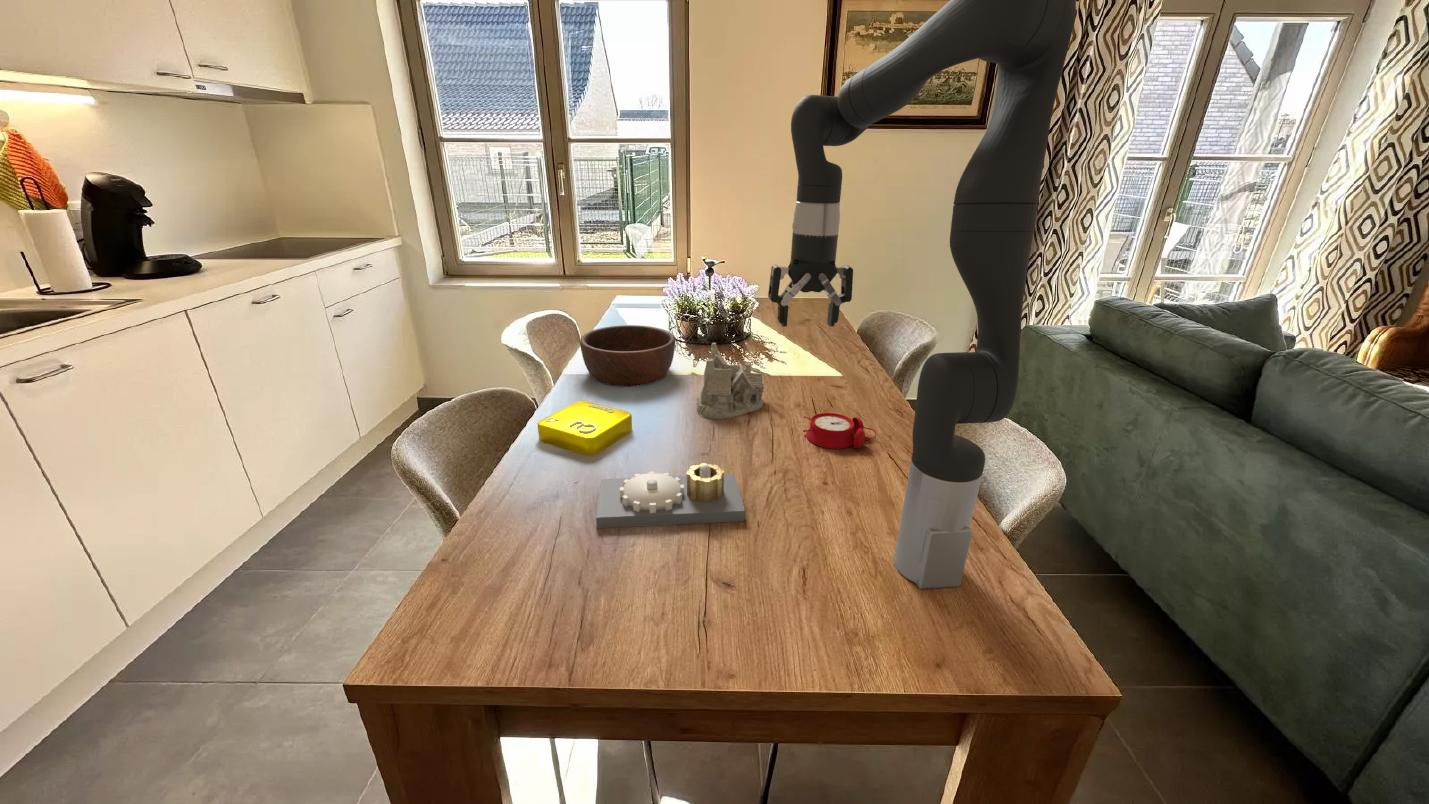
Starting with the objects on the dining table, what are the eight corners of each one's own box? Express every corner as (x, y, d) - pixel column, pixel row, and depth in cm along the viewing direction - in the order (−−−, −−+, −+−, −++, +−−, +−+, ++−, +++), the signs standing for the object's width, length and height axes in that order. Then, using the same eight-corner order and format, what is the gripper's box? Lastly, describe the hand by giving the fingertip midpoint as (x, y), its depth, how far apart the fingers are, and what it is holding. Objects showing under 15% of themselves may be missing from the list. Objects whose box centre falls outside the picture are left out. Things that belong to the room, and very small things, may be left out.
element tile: (636, 430, 129) (635, 410, 127) (592, 459, 117) (591, 437, 115) (581, 416, 135) (580, 396, 134) (534, 442, 123) (532, 421, 121)
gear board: (744, 521, 98) (746, 482, 95) (596, 528, 95) (594, 488, 92) (733, 483, 109) (735, 447, 106) (601, 488, 106) (599, 452, 103)
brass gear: (725, 501, 99) (726, 481, 98) (688, 503, 99) (688, 482, 97) (720, 482, 105) (721, 462, 104) (685, 483, 104) (685, 463, 103)
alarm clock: (802, 411, 131) (871, 402, 128) (806, 436, 134) (874, 428, 130) (801, 431, 122) (876, 422, 119) (805, 458, 124) (879, 450, 121)
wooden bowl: (631, 353, 177) (630, 319, 173) (694, 373, 162) (694, 337, 158) (562, 374, 159) (559, 337, 155) (626, 399, 144) (625, 359, 140)
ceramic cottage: (689, 415, 136) (694, 353, 130) (704, 392, 151) (710, 335, 145) (756, 427, 133) (765, 363, 128) (765, 401, 148) (773, 344, 143)
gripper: (778, 233, 94) (772, 332, 100) (864, 234, 96) (853, 331, 102) (768, 227, 101) (763, 320, 107) (849, 228, 103) (839, 319, 109)
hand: (807, 325), depth 105 cm, fingers open, 8 cm apart
